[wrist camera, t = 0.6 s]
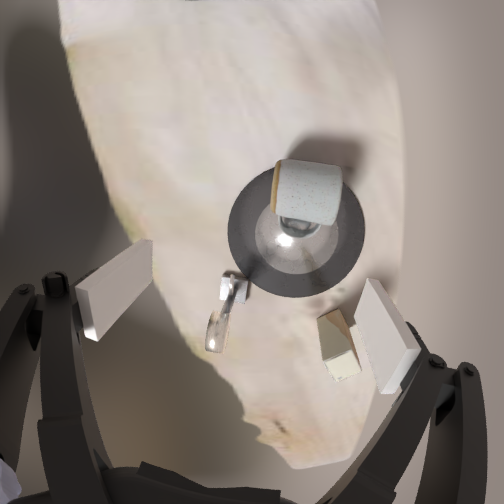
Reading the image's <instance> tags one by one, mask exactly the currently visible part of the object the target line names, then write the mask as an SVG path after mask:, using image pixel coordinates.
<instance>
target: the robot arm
mask: <svg viewBox="0 0 504 504" xmlns="http://www.w3.org/2000/svg"><path fill="white" fill-rule="evenodd" d="M151 282H152V241H151V240H146V239H140V240H139V241H137V242H136V243H135V244H133V245H132V246H130V247H129V248H127V249H126V250H124V251H123V252H122V253H120V254H119V255H117V256H116V257H114V258H113V259H112V260H110V261H109V262H107V263H106V264H105V265H103V266H102V267H101V268H96V269H93V270H91V271H89V272H88V273H87V274H86V275H85V276H83V277H81V278H80V279H79V280H77V281H76V282H74V283H73V284H72V285H70V286H69V284H68V278H67V275H66V273H64V272H61V271H54V272H50V273H47V274H46V275H44V276H43V277H42V284H43V288H44V293H45V295H41V294H36V290H35V287H34V285H32V284H23V285H19V286H18V287H16V288H15V289H14V290H13V292H12V293H11V295H10V296H9V298H8V300H7V301H6V303H5V304H4V306H3V307H2V309H1V311H0V504H297V503H295V502H293V501H291V500H288V499H285V498H282V497H280V493H281V491H280V490H271V489H260V488H250V487H236V488H207V487H204V486H202V485H200V484H198V483H195V482H193V481H191V480H189V479H187V478H185V477H183V476H181V475H179V474H177V473H176V472H173V471H170V470H167V469H163V468H160V467H157V466H154V465H151V464H148V463H146V462H143V461H142V462H141V465H140V467H139V468H138V467H117V468H114V467H113V466H112V463H111V461H110V459H109V457H108V455H107V452H106V450H105V447H104V444H103V441H102V437H101V434H100V431H99V427H98V424H97V420H96V417H95V413H94V409H93V405H92V401H91V397H90V392H89V388H88V383H87V378H86V372H85V367H84V360H83V354H82V347H81V339H80V334H79V331H80V330H81V328H84V332H85V336H86V337H88V338H90V339H93V340H95V341H99V340H100V338H101V337H102V336H103V335H104V334H105V333H106V331H107V330H108V329H109V328H110V327H111V326H112V325H113V323H114V322H115V321H116V320H117V319H118V318H119V316H120V315H121V314H122V313H123V312H124V311H125V310H126V309H127V308H128V307H129V305H130V304H131V303H132V302H133V301H134V300H135V299H136V298H137V297H138V296H139V295H140V293H141V292H142V291H143V290H144V289H145V288H146V287H147V286H148V285H149V284H150V283H151ZM354 319H355V321H356V324H357V327H358V329H359V332H360V335H361V338H362V340H363V343H364V346H365V349H366V352H367V355H368V358H369V360H370V363H371V366H372V369H373V372H374V376H375V379H376V382H377V385H378V388H379V391H380V394H394V393H395V391H396V390H397V388H398V387H399V385H400V386H401V388H402V392H401V393H400V395H399V396H398V398H397V399H396V400H395V402H394V403H393V405H392V408H391V410H390V411H389V413H388V415H387V416H386V418H385V419H384V421H383V422H382V424H381V425H380V427H379V428H378V430H377V431H376V433H375V434H374V436H373V437H372V438H371V440H370V441H369V443H368V444H367V445H366V447H365V448H364V449H363V451H362V452H361V453H360V455H359V456H358V457H357V458H356V460H355V461H354V462H353V464H352V465H351V466H350V467H349V468H348V470H347V471H346V472H345V473H344V474H343V476H342V477H341V478H340V479H339V480H338V481H337V482H336V483H335V485H334V486H333V487H332V488H331V489H330V490H329V491H328V492H327V493H326V494H325V495H324V496H323V498H321V499H320V500H319V501H318V502H317V503H316V504H392V502H393V501H394V499H395V497H396V492H394V489H395V487H396V485H397V483H398V482H399V480H400V478H401V477H402V475H403V473H404V471H405V470H406V468H407V466H408V464H409V462H410V460H411V458H412V456H413V454H414V452H415V450H416V448H417V446H418V444H419V442H420V440H421V438H422V436H423V433H424V431H425V428H426V426H427V424H428V421H429V419H430V417H431V420H430V430H429V437H428V444H427V451H426V456H425V462H424V468H423V472H422V477H421V481H420V485H419V489H418V493H417V497H416V500H415V504H484V503H485V494H486V483H487V429H486V416H485V408H484V400H483V393H482V386H481V381H480V375H479V372H478V370H477V369H476V367H475V366H473V364H470V363H468V362H462V363H461V364H460V365H459V366H458V368H457V369H452V368H448V367H447V364H446V362H445V361H444V360H443V359H442V358H441V357H439V356H438V355H436V354H431V353H430V352H429V351H428V349H427V347H426V346H425V344H424V342H423V341H422V340H421V337H420V336H419V335H418V332H417V331H416V329H415V328H414V327H413V326H412V325H411V324H410V323H409V322H405V321H404V319H403V317H402V316H401V314H400V313H399V311H398V309H397V308H396V306H395V305H394V303H393V302H392V300H391V298H390V297H389V295H388V294H387V292H386V291H385V289H384V288H383V286H382V285H381V283H380V282H379V280H376V279H370V278H367V280H366V283H365V286H364V289H363V292H362V295H361V298H360V301H359V303H358V306H357V309H356V312H355V314H354ZM39 357H40V383H41V401H42V412H43V419H42V420H38V422H37V429H38V437H39V444H40V450H41V455H42V461H43V466H44V470H45V474H46V479H47V483H48V487H49V490H48V491H45V492H41V493H37V494H34V495H30V496H25V497H21V498H18V495H19V494H20V493H21V491H22V490H21V486H20V484H19V483H18V481H17V477H16V474H15V472H16V468H17V464H18V459H19V452H20V444H21V437H22V430H23V423H24V418H25V412H26V407H27V402H28V398H29V393H30V389H31V385H32V381H33V377H34V374H35V370H36V367H37V363H38V360H39Z"/></svg>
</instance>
